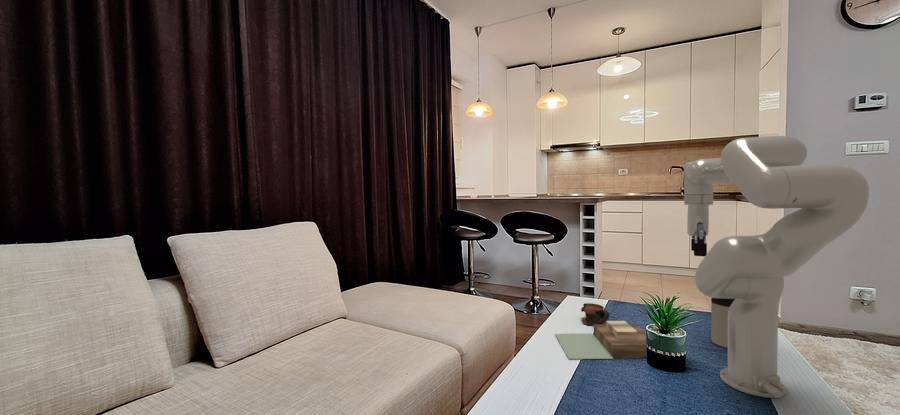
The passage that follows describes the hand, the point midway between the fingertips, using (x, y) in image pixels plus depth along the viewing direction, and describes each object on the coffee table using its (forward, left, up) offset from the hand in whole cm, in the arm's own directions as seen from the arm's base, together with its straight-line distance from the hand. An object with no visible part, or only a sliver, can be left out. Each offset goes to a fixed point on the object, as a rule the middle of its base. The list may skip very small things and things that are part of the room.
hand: (698, 253), depth 112 cm
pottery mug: (+17, +27, -29) cm, 43 cm away
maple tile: (-3, +26, -25) cm, 36 cm away
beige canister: (-2, -7, -29) cm, 30 cm away
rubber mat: (-3, +38, -29) cm, 48 cm away
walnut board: (-3, +25, -29) cm, 38 cm away
